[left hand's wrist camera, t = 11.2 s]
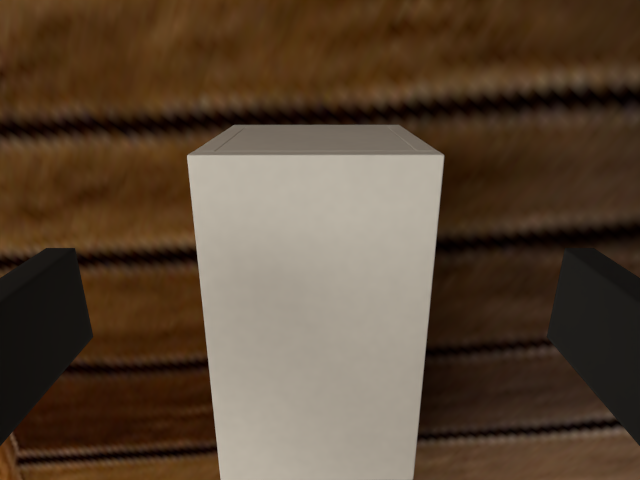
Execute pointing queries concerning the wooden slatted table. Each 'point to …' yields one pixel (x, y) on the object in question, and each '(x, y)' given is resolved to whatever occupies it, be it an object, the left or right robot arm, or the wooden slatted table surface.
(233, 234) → the cabinet
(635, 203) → the wooden slatted table surface
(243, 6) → the wooden slatted table surface
